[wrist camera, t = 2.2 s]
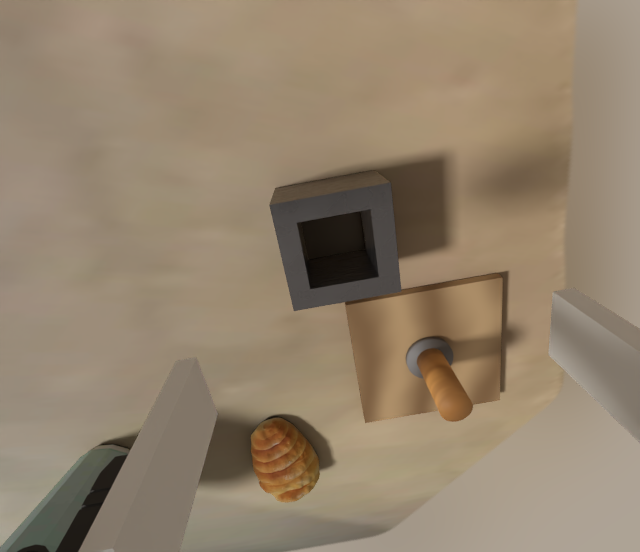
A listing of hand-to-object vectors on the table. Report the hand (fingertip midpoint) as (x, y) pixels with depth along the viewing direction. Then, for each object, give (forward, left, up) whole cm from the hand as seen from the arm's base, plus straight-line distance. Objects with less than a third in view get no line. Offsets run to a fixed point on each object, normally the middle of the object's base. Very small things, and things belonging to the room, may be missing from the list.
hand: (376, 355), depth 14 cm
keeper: (+7, -14, -19) cm, 25 cm away
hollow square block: (0, 0, -19) cm, 19 cm away
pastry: (-10, -25, -19) cm, 33 cm away
